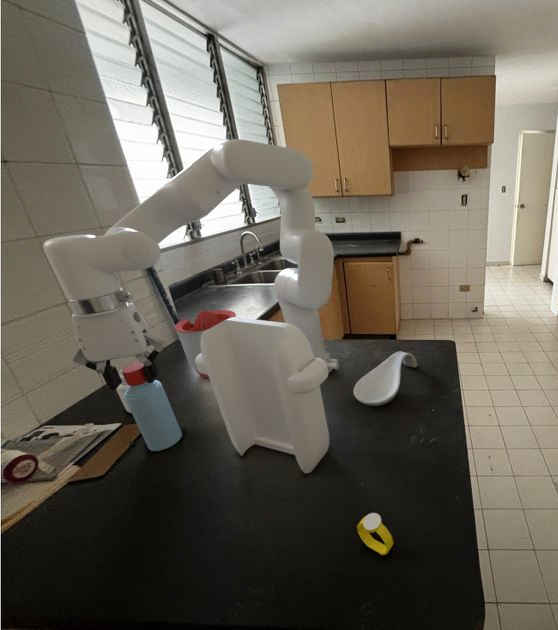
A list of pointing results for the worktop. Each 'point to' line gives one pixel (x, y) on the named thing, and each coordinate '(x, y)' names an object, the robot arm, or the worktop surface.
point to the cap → (134, 374)
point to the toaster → (267, 387)
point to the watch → (375, 525)
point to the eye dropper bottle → (123, 392)
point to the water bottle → (153, 415)
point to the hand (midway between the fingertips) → (135, 382)
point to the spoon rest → (383, 380)
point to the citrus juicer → (199, 332)
